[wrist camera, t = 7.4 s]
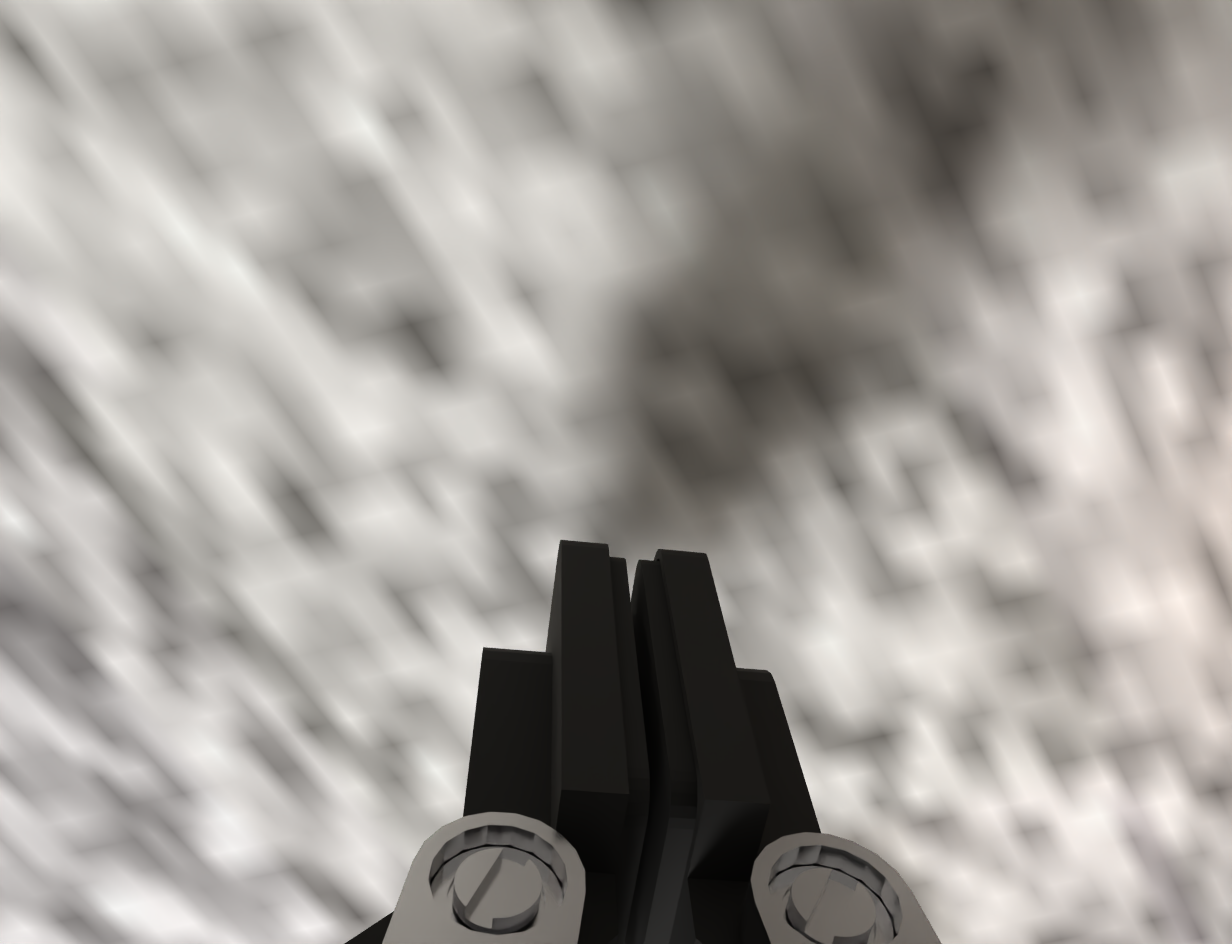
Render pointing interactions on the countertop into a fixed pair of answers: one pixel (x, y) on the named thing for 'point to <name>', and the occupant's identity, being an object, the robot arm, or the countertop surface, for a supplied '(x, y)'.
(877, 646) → the countertop surface
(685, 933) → the robot arm
